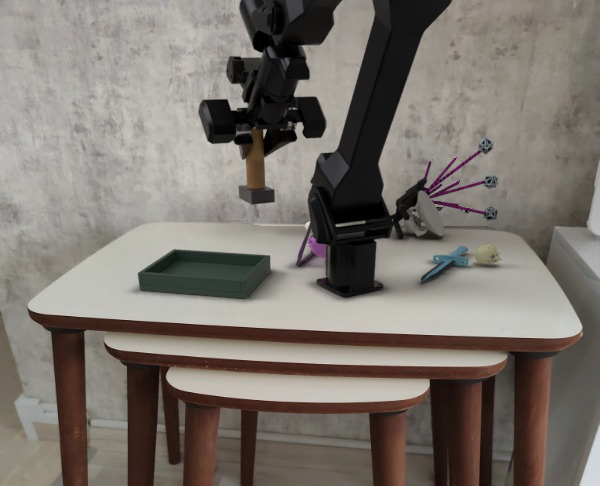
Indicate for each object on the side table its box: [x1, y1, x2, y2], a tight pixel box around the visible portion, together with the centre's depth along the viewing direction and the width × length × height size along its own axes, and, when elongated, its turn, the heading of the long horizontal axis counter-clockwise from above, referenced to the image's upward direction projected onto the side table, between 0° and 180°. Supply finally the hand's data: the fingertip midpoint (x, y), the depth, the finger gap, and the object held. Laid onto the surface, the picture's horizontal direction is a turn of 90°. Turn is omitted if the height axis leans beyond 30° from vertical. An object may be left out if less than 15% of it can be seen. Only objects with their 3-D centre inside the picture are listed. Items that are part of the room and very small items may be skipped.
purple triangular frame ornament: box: [295, 221, 327, 267], centre depth 87 cm, size 7×5×9 cm
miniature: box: [403, 191, 445, 237], centre depth 99 cm, size 8×8×5 cm
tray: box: [137, 248, 272, 300], centre depth 80 cm, size 14×11×2 cm
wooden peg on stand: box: [238, 128, 276, 206], centre depth 97 cm, size 6×4×11 cm, turn 25°
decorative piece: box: [390, 136, 499, 240], centre depth 104 cm, size 14×14×30 cm
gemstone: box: [474, 243, 503, 265], centre depth 85 cm, size 3×4×3 cm
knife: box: [420, 245, 469, 283], centre depth 84 cm, size 17×1×5 cm
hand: (251, 156), depth 98 cm, fingers closed on wooden peg on stand, 3 cm apart
